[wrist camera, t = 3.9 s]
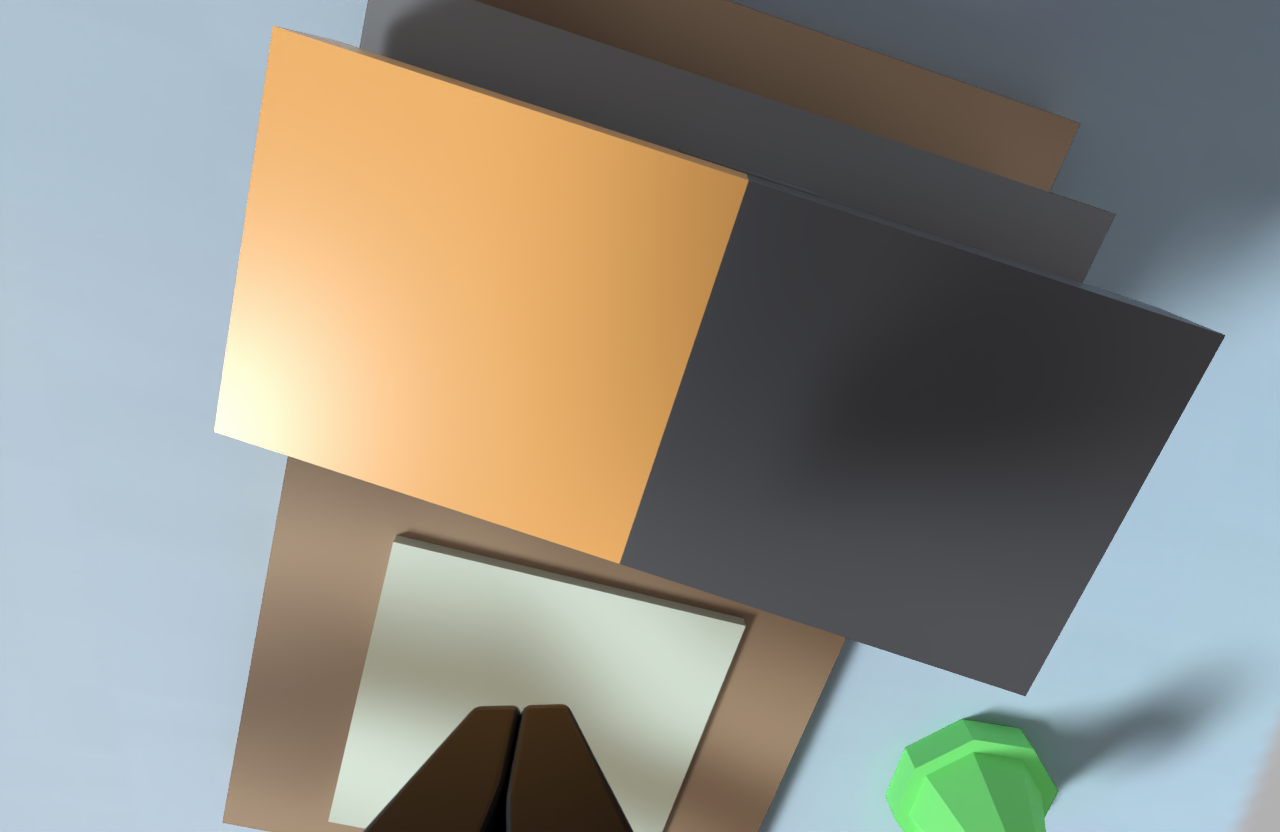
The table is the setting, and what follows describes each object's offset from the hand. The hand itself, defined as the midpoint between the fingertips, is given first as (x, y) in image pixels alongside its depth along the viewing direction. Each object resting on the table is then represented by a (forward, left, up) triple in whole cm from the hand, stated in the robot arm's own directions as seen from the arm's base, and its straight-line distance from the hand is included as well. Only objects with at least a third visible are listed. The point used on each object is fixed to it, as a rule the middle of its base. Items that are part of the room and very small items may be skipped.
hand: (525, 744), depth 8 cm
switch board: (-3, +1, -11) cm, 12 cm away
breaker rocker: (+1, -3, -5) cm, 6 cm away
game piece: (-15, -4, -12) cm, 20 cm away
